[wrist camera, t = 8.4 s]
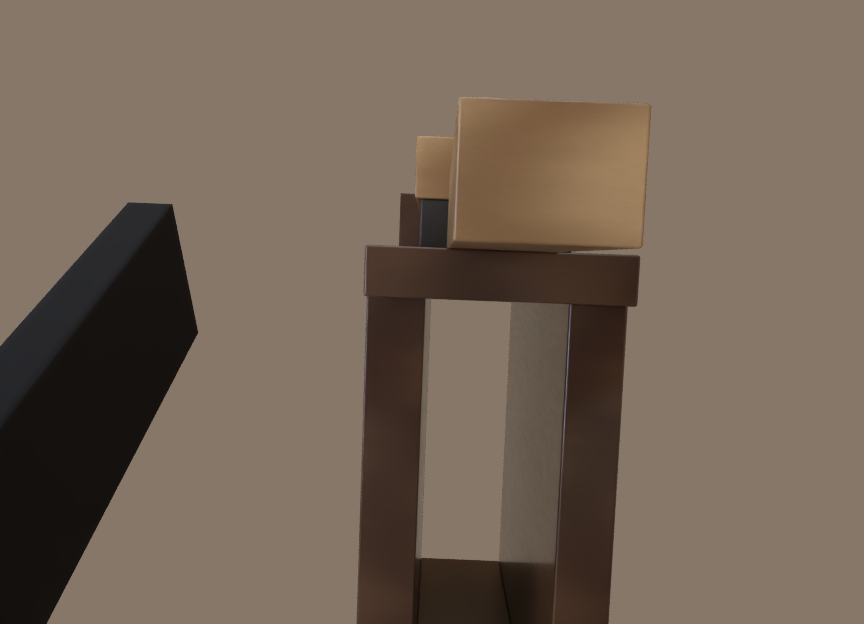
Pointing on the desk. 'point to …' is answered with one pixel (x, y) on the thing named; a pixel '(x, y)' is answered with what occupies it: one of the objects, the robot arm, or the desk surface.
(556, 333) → the shelf
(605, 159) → the tan block
